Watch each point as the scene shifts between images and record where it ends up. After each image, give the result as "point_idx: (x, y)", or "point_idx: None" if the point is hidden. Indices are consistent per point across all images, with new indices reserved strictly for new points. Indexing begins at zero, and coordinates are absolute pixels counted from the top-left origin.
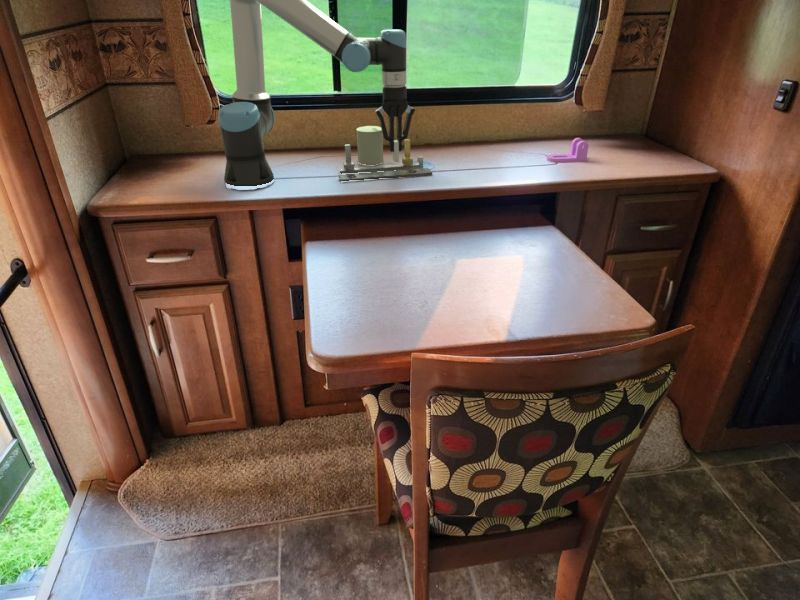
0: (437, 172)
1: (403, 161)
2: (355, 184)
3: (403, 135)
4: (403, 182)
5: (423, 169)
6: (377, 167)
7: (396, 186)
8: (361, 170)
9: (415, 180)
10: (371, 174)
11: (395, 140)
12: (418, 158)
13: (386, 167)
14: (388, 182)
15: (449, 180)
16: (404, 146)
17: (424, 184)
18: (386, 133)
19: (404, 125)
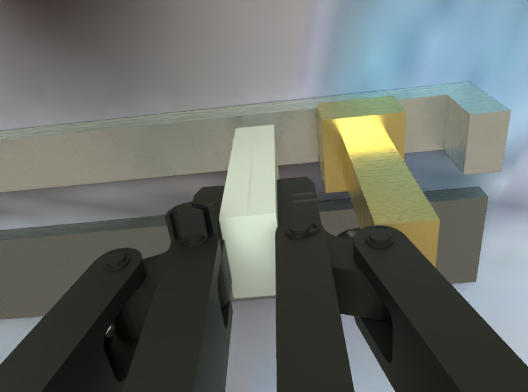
0: (525, 223)
1: (322, 161)
2: (20, 339)
3: (363, 306)
4: (275, 345)
5: (442, 224)
6: (114, 163)
7: (233, 385)
8: (3, 189)
9: (344, 328)
10: (87, 268)
11: (257, 222)
12: (461, 151)
13: (183, 173)
14: None
15: (521, 350)
16: (359, 183)
17: (374, 380)
18: (117, 389)
19: (432, 367)
